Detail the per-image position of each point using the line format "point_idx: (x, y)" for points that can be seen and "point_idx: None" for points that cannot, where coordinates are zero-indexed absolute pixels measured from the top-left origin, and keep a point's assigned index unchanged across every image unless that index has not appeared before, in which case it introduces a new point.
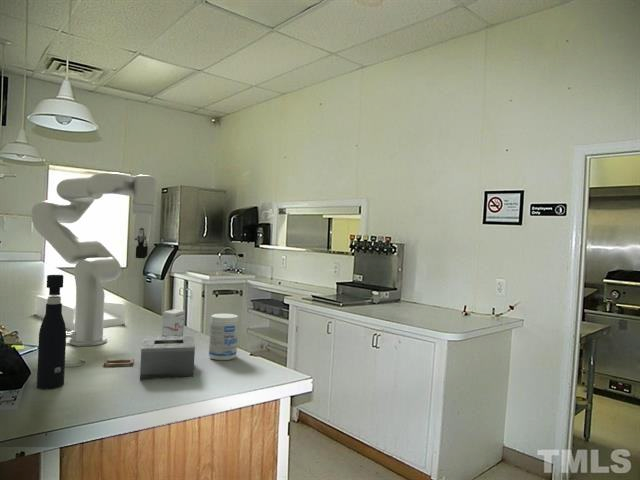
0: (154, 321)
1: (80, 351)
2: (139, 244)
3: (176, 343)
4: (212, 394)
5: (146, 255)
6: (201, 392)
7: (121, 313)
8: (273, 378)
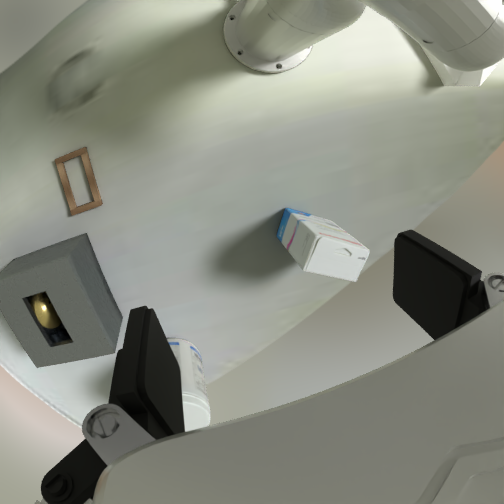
0: (467, 146)
1: (175, 46)
2: (85, 454)
3: (43, 336)
4: (10, 362)
5: (396, 301)
6: (9, 351)
7: (464, 76)
8: None
